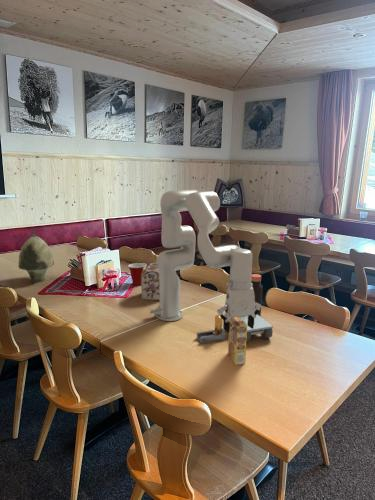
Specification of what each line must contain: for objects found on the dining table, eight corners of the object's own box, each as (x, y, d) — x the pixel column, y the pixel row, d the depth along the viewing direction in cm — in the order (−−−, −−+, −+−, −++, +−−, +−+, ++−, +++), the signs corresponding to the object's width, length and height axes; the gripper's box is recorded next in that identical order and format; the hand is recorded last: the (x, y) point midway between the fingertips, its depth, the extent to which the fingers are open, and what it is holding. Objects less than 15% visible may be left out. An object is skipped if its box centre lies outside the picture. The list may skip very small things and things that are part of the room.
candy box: (245, 364, 133) (248, 325, 130) (234, 365, 133) (236, 326, 129) (237, 351, 142) (239, 314, 138) (226, 352, 141) (228, 315, 137)
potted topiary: (32, 277, 230) (26, 230, 226) (61, 277, 227) (56, 228, 223) (13, 285, 211) (7, 233, 207) (45, 284, 208) (39, 231, 204)
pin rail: (201, 343, 148) (201, 337, 147) (196, 338, 152) (196, 332, 152) (226, 339, 151) (226, 333, 151) (220, 334, 156) (221, 328, 155)
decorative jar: (166, 293, 203) (167, 261, 198) (163, 300, 191) (163, 267, 187) (145, 291, 204) (145, 260, 199) (140, 299, 193) (140, 266, 188)
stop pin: (215, 337, 150) (215, 318, 148) (212, 334, 153) (212, 315, 151) (238, 333, 154) (239, 315, 152) (234, 330, 157) (235, 312, 155)
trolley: (244, 344, 147) (247, 300, 143) (224, 326, 164) (226, 285, 159) (272, 340, 152) (275, 296, 147) (250, 322, 168) (252, 282, 163)
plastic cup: (139, 279, 224) (139, 260, 221) (150, 284, 216) (150, 264, 213) (124, 283, 216) (124, 264, 213) (135, 288, 209) (135, 268, 206)
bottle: (263, 315, 175) (266, 275, 171) (255, 319, 170) (258, 278, 166) (251, 311, 180) (253, 272, 175) (243, 315, 175) (245, 275, 170)
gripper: (222, 290, 124) (221, 337, 127) (267, 284, 130) (264, 329, 133) (213, 283, 131) (212, 328, 134) (256, 278, 136) (254, 321, 140)
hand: (238, 329), depth 134 cm, fingers open, 9 cm apart
